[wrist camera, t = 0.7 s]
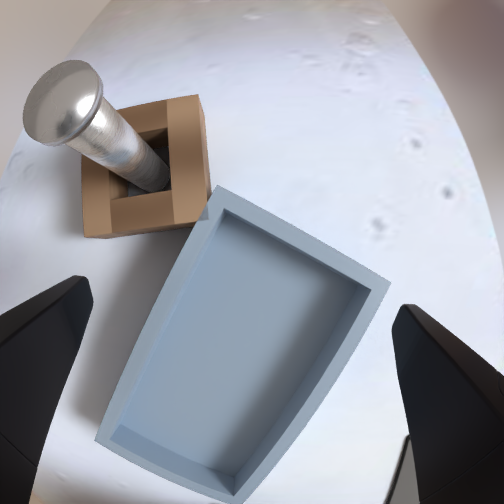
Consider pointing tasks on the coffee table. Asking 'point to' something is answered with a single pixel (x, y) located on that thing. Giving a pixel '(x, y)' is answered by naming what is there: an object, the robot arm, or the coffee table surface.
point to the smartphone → (405, 479)
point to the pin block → (160, 203)
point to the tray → (238, 350)
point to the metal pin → (90, 124)
